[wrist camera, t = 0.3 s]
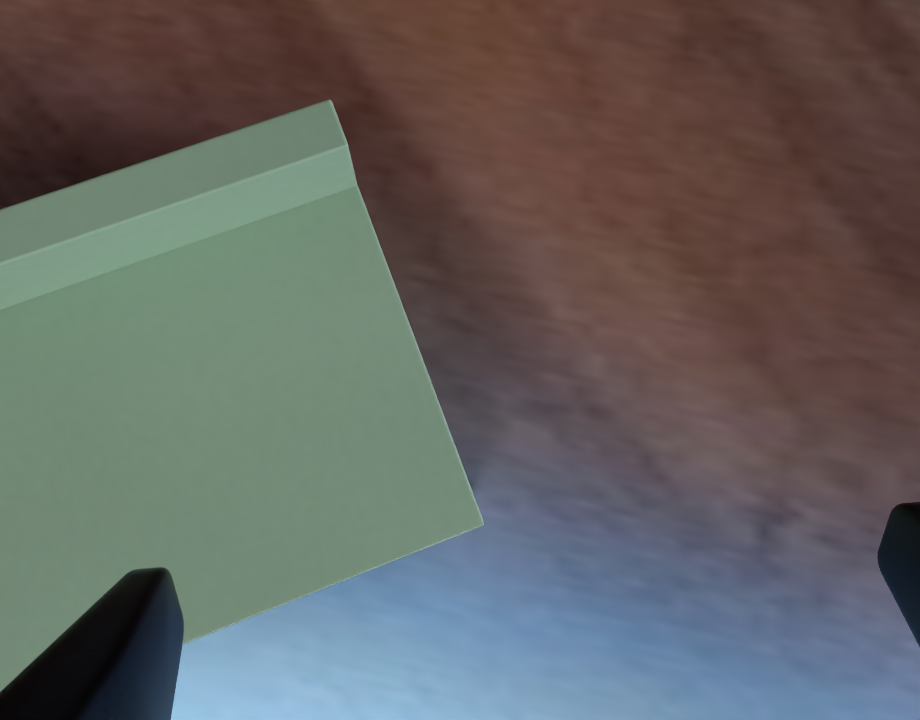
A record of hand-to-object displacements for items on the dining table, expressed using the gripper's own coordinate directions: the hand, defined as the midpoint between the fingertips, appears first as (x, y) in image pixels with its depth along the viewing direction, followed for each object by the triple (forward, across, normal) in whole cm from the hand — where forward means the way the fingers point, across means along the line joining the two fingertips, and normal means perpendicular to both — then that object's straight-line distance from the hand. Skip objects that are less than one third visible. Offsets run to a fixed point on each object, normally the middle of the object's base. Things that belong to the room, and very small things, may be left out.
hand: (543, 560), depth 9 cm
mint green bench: (+13, +9, +6) cm, 17 cm away
